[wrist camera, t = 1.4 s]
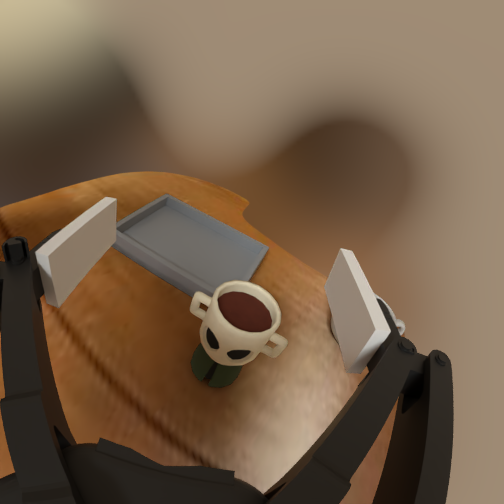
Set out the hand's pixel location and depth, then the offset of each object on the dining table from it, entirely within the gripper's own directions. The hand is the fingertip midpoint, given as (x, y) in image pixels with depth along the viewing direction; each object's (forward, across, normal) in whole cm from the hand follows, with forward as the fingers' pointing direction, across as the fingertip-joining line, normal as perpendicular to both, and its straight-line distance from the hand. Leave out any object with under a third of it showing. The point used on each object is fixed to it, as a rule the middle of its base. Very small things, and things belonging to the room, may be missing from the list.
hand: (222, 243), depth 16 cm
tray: (+30, -7, -19) cm, 36 cm away
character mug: (+9, +1, -23) cm, 25 cm away
